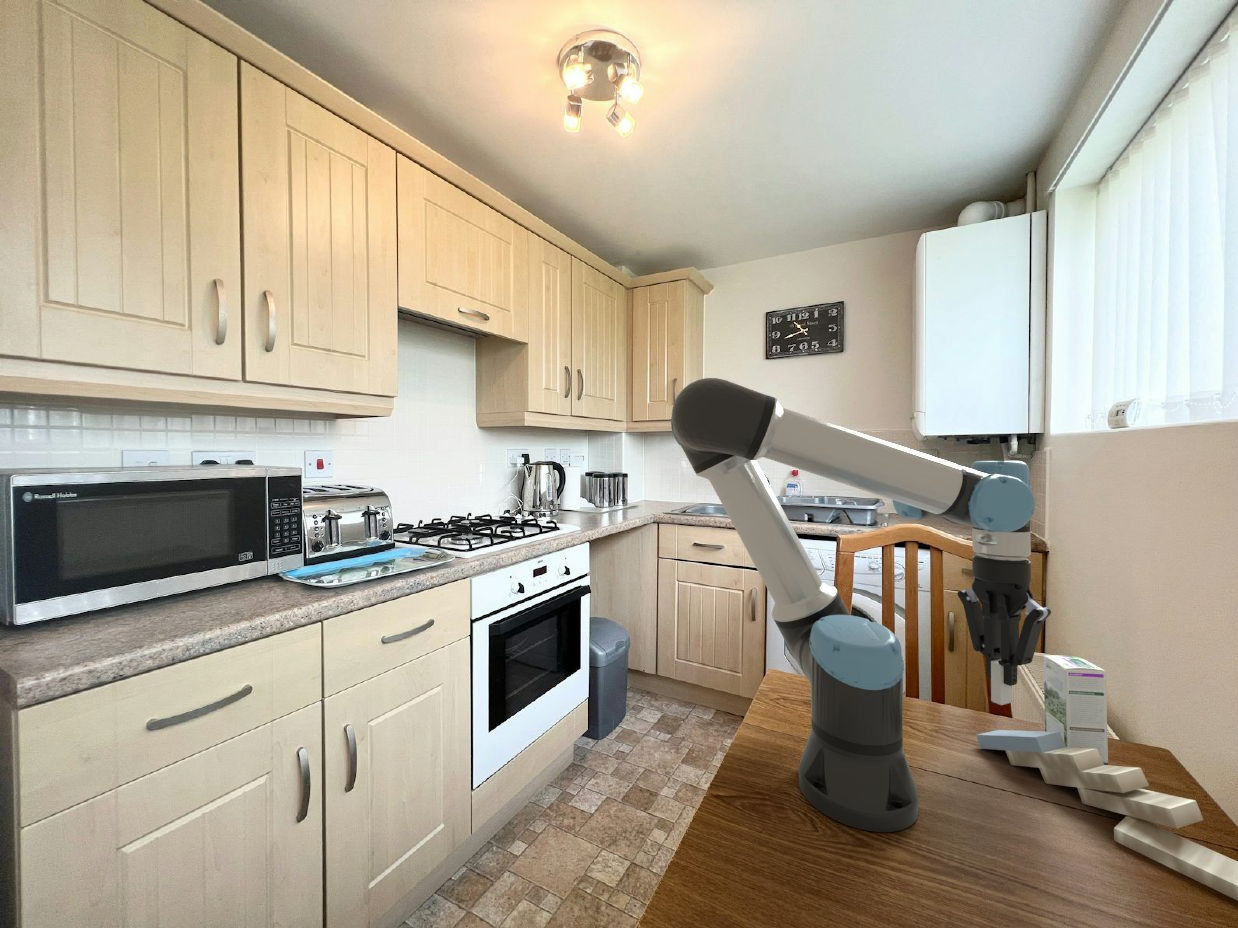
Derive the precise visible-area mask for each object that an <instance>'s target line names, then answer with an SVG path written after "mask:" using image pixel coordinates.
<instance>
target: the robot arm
mask: <svg viewBox="0 0 1238 928" xmlns="http://www.w3.org/2000/svg"><path fill="white" fill-rule="evenodd" d="M675 398H676V399H675V400H674V403H673V406H672V409H671V410H672V411H671V419H670V425H671V426H670V427H671V432H672V435H673V437H674V439H675V441H676V442H677V444H678V445H679V446H680V448H681V449H682V451H683V452H684V454H685V457H686V458H687V460H688V462H689V463H690V465H691V467H692V469H693V471H694V473H695V474H696V476H698V477H701V478H703V479H706V480H708V481H709V482H710V485H711V486H712V488H713V491H714V492H715V493H716V495H717V497H718V499H719V501H720V503H721V504H722V507H723V509H724V510H725V513H726V515H727V516H728V517H729V519H730V521H731V523H732V526H733V527H734V529H735V531H736V533H737V534H738V536H739V539H740V540H741V542H742V544H743V546H744V547H745V549H746V551H747V553H748V555H749V557H750V559H751V560H752V562H753V565H754V567H756V570H757V572H758V574H759V576H760V578H761V579H762V582H763V583H764V585H765V587H766V590H767V591H768V593H769V595H770V596H771V598H772V600H773V602H774V604H773V607H772V611H771V617H772V619H773V621H774V623H775V625H776V626H777V628H778V631H779V632H780V634H781V636H782V638H783V641H784V645H785V647H786V649H787V651H788V652H789V653H788V654H790V656H791V657H792V658H793V660H795V662H796V663H797V664H798V666H799V667H800V669H801V671H802V673H803V675H804V677H806V679H807V681H808V682H809V686H810V708H811V709H810V711H811V712H810V716H811V719H810V720H811V721H810V722H811V724H810V725H811V729H810V733H809V736H808V738H807V741H806V742H805V743H806V744H805V746H804V750H803V751H802V755H801V758H800V761H799V765H798V785H799V789H800V791H801V792H802V795H803V796H804V798H805V799H806V800H807V801H808V802H809V804H810V805H812V806H813V807H814V808H815V809H816V810H818V812H820V813H822V814H823V815H825V816H827V817H829V818H830V819H832V820H834V821H836V822H839V823H841V824H842V825H846V826H849V827H852V828H854V829H859V830H863V831H868V832H874V833H875V832H876V833H893V832H894V833H895V832H898V831H902V830H905V829H907V828H909V827H911V826H913V824H914V823H915V822H916V821H917V819H918V816H919V793H918V789H917V786H916V783H915V780H914V777H913V774H912V771H911V768H910V765H909V762H908V760H907V757H906V754H905V751H904V739H903V738H904V734H903V733H904V732H903V731H904V726H903V725H904V719H903V718H904V716H903V715H904V711H903V709H904V671H905V661H904V660H903V654H902V653H903V652H902V646H901V642H900V639H898V637H897V636H896V634H895V633H894V632H893V631H892V630H890V629H889V628H888V627H887V626H884V625H883V624H881V623H878V622H877V621H870V620H869V618H864V617H861V616H855V615H852V614H851V613H850V611H849V609H848V607H847V605H846V604H845V602H844V599H843V598H842V596H841V595H840V593H839V591H838V589H837V587H836V586H834V585H833V584H829V583H826V582H823V581H822V579H821V577H820V576H819V574H818V572H817V569H816V568H815V566H814V565H813V562H812V561H811V559H810V556H809V555H808V553H807V551H806V549H805V548H804V546H803V544H802V542H801V540H800V538H799V537H798V535H797V533H796V531H795V529H794V527H793V526H792V523H791V522H790V520H789V518H788V516H787V514H786V512H785V511H784V509H783V507H782V506H781V503H780V501H779V499H778V498H777V496H776V494H775V492H774V490H773V489H772V487H771V485H770V483H769V482H768V479H767V477H766V475H765V473H764V472H763V470H762V469H761V466H760V465H759V463H758V460H759V459H761V458H764V459H768V460H771V461H774V462H777V463H779V464H783V465H786V466H789V467H792V468H796V469H798V470H801V471H804V472H806V473H807V472H808V473H810V474H814V475H817V476H818V477H819V476H820V477H823V478H825V479H828V480H831V481H835V482H837V483H840V484H844V485H847V486H850V487H853V488H856V489H859V490H862V491H865V492H868V493H871V494H873V495H874V494H875V495H877V496H880V497H883V498H886V499H889V500H892V505H893V507H894V510H895V512H896V514H897V515H899V517H901V518H904V519H913V520H918V521H921V520H937V521H941V522H945V523H950V524H955V525H962V526H967V527H971V528H972V529H971V533H972V534H971V537H972V538H971V539H972V540H971V542H972V543H971V544H972V545H971V546H972V548H971V549H972V552H974V553H976V554H973V556H972V557H971V559H972V561H971V566H972V568H971V569H972V571H971V572H972V573H971V574H972V576H973V577H974V579H973V582H972V583H971V587H970V588H968V589H965V590H958V591H957V596H958V598H959V600H960V602H961V604H962V606H963V609H964V610H963V611H964V614H965V618H966V622H967V627H968V631H969V636H970V639H971V642H972V644H971V645H972V647H973V650H974V651H975V652H979V653H981V654H982V655H983V656H984V658H985V660H986V661H985V665H986V666H985V667H986V668H985V671H986V672H985V673H986V676H987V678H988V679H990V691H991V692H990V695H991V696H990V701H991V702H992V703H994V704H997V705H999V706H1003V705H1008V704H1012V703H1013V686H1016V685H1017V684H1018V667H1019V666H1024V665H1028V664H1031V663H1032V662H1033V659H1034V655H1035V652H1036V649H1037V645H1038V641H1039V638H1040V635H1041V632H1042V627H1043V625H1044V622H1045V621H1046V619H1048V617H1050V615H1051V614H1052V610H1051V609H1050V608H1049V607H1047V606H1046V607H1045V606H1044V607H1043V606H1041V605H1040V604H1039V603H1037V602H1036V601H1035V600H1034V595H1033V594H1032V592H1031V589H1030V585H1031V582H1032V566H1031V565H1032V563H1031V560H1030V559H1028V557H1031V555H1032V550H1031V549H1032V544H1031V519H1032V517H1033V515H1034V512H1035V510H1036V499H1035V494H1034V493H1033V491H1032V485H1031V475H1030V469H1029V466H1028V464H1027V463H1026V462H1024V461H1021V460H976V461H973V463H972V464H971V466H970V467H971V468H969V467H966V466H965V465H964V466H963V465H959V464H957V463H954V462H951V461H948V460H946V459H942V458H938V457H935V456H932V455H930V454H927V453H924V452H920V451H917V450H915V449H910V448H908V447H905V446H902V445H899V444H896V443H892V442H889V441H886V440H883V439H880V438H877V437H875V436H871V435H868V434H864V433H862V432H858V431H855V430H853V429H850V428H849V429H848V428H847V427H843V426H839V425H837V424H835V423H830V422H827V421H824V420H821V419H818V418H815V417H812V416H809V415H806V414H803V413H800V412H796V411H794V410H791V409H788V408H784V407H782V406H781V404H780V402H779V400H778V398H777V397H773V396H771V395H769V394H764V393H762V392H759V391H756V390H753V389H751V388H749V387H746V386H742V385H740V384H738V383H735V382H732V381H729V380H726V379H722V378H718V377H706V378H705V377H704V378H700V379H698V380H695V381H692V382H690V383H689V384H688V385H687V386H685V387H684V388H683V389H682V390H681V391H680V392H679V393H678V394H677V396H676V397H675ZM1025 609H1026V610H1025ZM1024 610H1025V615H1026V616H1025V618H1024V620H1023V623H1022V626H1021V630H1020V621H1021V620H1022V612H1023V611H1024Z"/></svg>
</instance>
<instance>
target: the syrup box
mask: <svg viewBox="0 0 1238 928" xmlns="http://www.w3.org/2000/svg"><path fill="white" fill-rule="evenodd" d="M1043 692H1044V693H1043V695H1044V699H1043V700H1044V731H1046V732H1060V734H1061V736H1062V739H1063V741H1064V743H1065V745H1066V747H1074V748H1092V749H1097V750H1098V752H1099V754H1100V756H1101V758H1102V761H1103V763H1104V764H1108V763H1109V751H1108V750H1109V749H1108V746H1109V745H1108V744H1109V743H1108V741H1109V740H1108V739H1109V738H1108V711H1107V709H1108V708H1107V707H1108V705H1107V703H1108V702H1107V671H1106V670H1105V669H1103V668H1101V667H1099V666H1098V665H1096V664H1094V663H1091V662H1090V661H1088V660H1086V659H1085V658H1083V657H1080V656H1073V655H1062V654H1058V655H1057V654H1055V655H1051V654H1050V655H1046V654H1045V655H1044V654H1043Z"/></svg>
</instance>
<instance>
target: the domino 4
mask: <svg viewBox="0 0 1238 928" xmlns="http://www.w3.org/2000/svg"><path fill="white" fill-rule="evenodd" d="M1076 788H1077V791H1078V795H1079V798H1080V800H1081V803H1082V804H1083V805H1085V806H1090V807H1091V806H1092V807H1095V808H1097V809H1102V810H1105V811H1110V812H1113V813H1118V814H1120V815H1121V814H1122V815H1125V816H1127V815H1128V816H1132V817H1135V818H1139V819H1142V820H1144V821H1147V822H1150V823H1155V824H1158V825H1162V826H1165V827H1166V826H1167V827H1170V828H1174V829H1180V828H1183V827H1186V826H1189V825H1193V824H1195V823H1199V822H1202V821H1204V817H1203V815H1202V812H1201V810H1200V808H1199V805H1198V802H1197V800H1195V799H1190V798H1185V797H1180V796H1177V795H1176V796H1175V795H1173V794H1172V795H1171V794H1167V793H1163V792H1159V791H1158V792H1157V791H1153V790H1148V789H1144V788H1139V789H1136V790H1132V791H1128V792H1125V793H1119V792H1111V791H1103V790H1095V789H1087V788H1079V787H1076Z"/></svg>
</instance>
